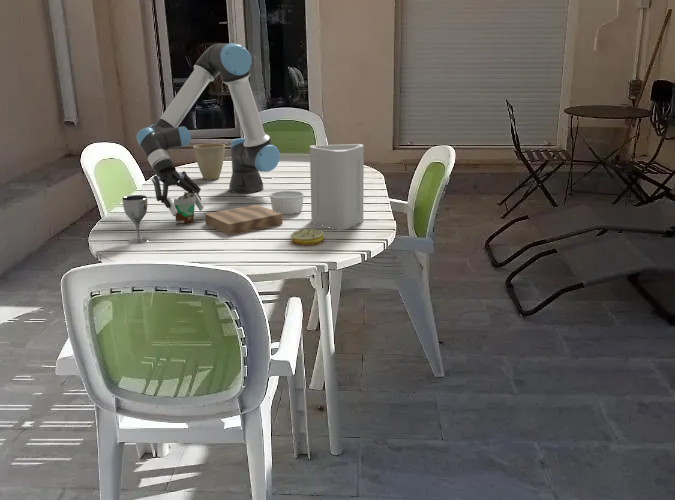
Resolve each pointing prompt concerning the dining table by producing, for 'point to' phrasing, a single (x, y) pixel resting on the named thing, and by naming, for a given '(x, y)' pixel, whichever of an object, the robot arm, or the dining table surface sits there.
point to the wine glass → (136, 213)
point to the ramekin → (287, 201)
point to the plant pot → (210, 159)
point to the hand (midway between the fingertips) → (189, 211)
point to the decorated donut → (307, 236)
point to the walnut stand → (243, 219)
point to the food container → (185, 208)
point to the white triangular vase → (337, 185)
